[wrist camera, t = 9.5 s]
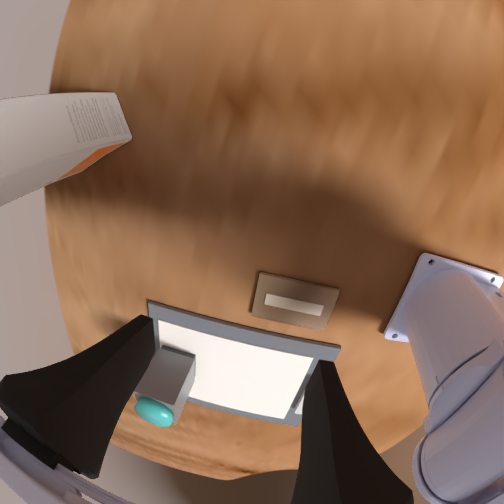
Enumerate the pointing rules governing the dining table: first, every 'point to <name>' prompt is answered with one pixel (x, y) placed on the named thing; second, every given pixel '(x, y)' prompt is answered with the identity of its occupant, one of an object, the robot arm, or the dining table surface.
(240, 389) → the clipboard
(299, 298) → the word placard
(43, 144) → the skincare box
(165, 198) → the dining table surface
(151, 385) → the teal-capped grey stamp
